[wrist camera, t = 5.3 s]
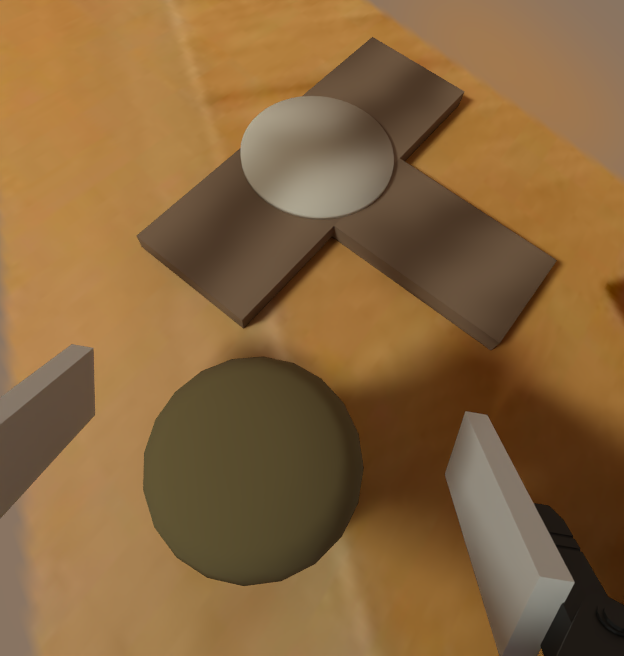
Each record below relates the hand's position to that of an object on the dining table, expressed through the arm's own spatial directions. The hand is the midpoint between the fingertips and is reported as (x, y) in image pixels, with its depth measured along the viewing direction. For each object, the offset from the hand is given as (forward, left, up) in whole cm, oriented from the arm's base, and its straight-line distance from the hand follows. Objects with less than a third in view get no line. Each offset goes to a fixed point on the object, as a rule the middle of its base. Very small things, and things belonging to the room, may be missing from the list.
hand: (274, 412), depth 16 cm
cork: (-2, +1, -5) cm, 5 cm away
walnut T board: (+12, -7, -5) cm, 14 cm away
